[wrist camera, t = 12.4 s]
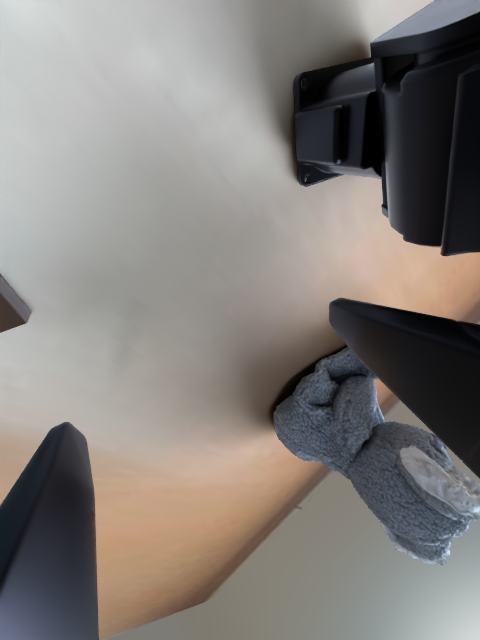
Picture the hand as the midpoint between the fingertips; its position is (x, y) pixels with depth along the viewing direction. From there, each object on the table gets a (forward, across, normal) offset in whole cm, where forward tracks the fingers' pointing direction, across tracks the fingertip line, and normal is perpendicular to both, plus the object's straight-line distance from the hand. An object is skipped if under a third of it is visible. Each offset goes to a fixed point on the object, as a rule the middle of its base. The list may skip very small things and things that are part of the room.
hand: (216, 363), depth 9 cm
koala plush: (+13, -14, +27) cm, 33 cm away
